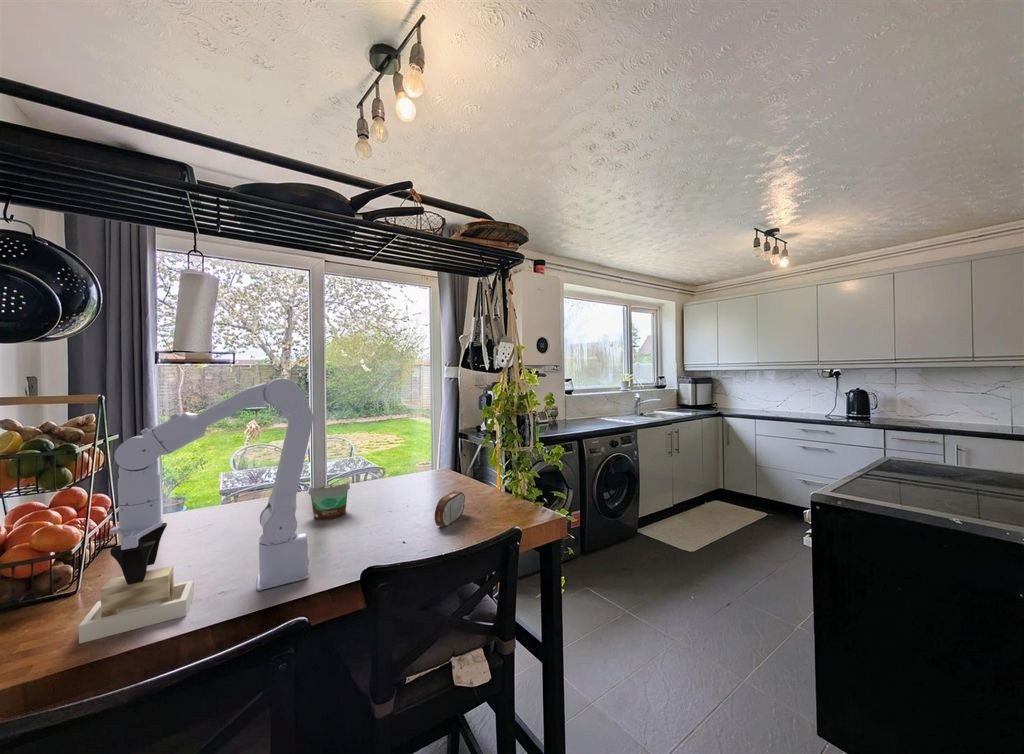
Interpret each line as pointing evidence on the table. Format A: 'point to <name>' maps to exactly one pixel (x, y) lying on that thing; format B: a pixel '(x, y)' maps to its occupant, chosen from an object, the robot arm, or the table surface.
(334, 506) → the food container
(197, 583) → the table surface
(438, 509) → the tin
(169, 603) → the tray
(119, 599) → the wooden toy bench
